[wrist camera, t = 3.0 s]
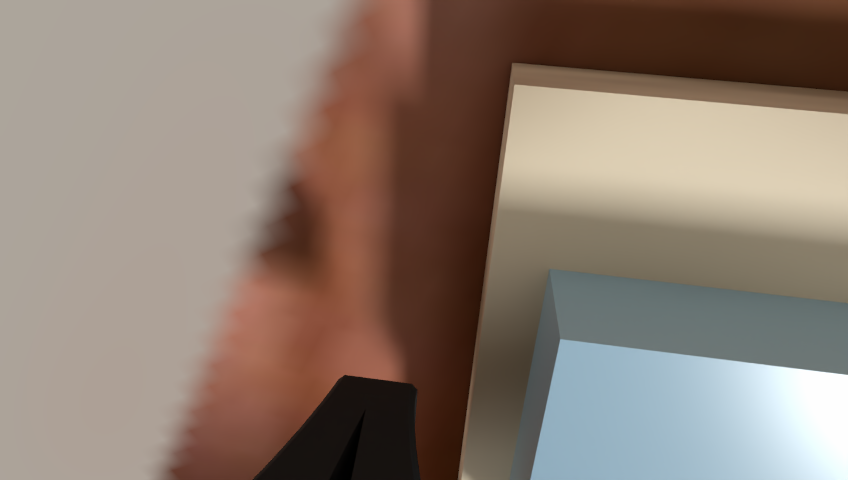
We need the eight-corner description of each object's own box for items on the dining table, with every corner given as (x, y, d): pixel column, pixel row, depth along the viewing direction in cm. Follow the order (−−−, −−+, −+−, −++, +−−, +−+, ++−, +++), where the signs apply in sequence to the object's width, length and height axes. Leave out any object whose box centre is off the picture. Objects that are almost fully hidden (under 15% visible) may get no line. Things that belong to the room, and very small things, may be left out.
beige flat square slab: (915, 582, 15) (973, 669, 13) (453, 512, 15) (447, 584, 14) (1255, 126, 9) (1438, 167, 7) (512, 62, 10) (514, 83, 8)
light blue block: (1126, 335, 9) (1284, 429, 7) (943, 572, 12) (1023, 684, 10) (549, 268, 10) (560, 338, 8) (504, 506, 12) (504, 599, 10)
